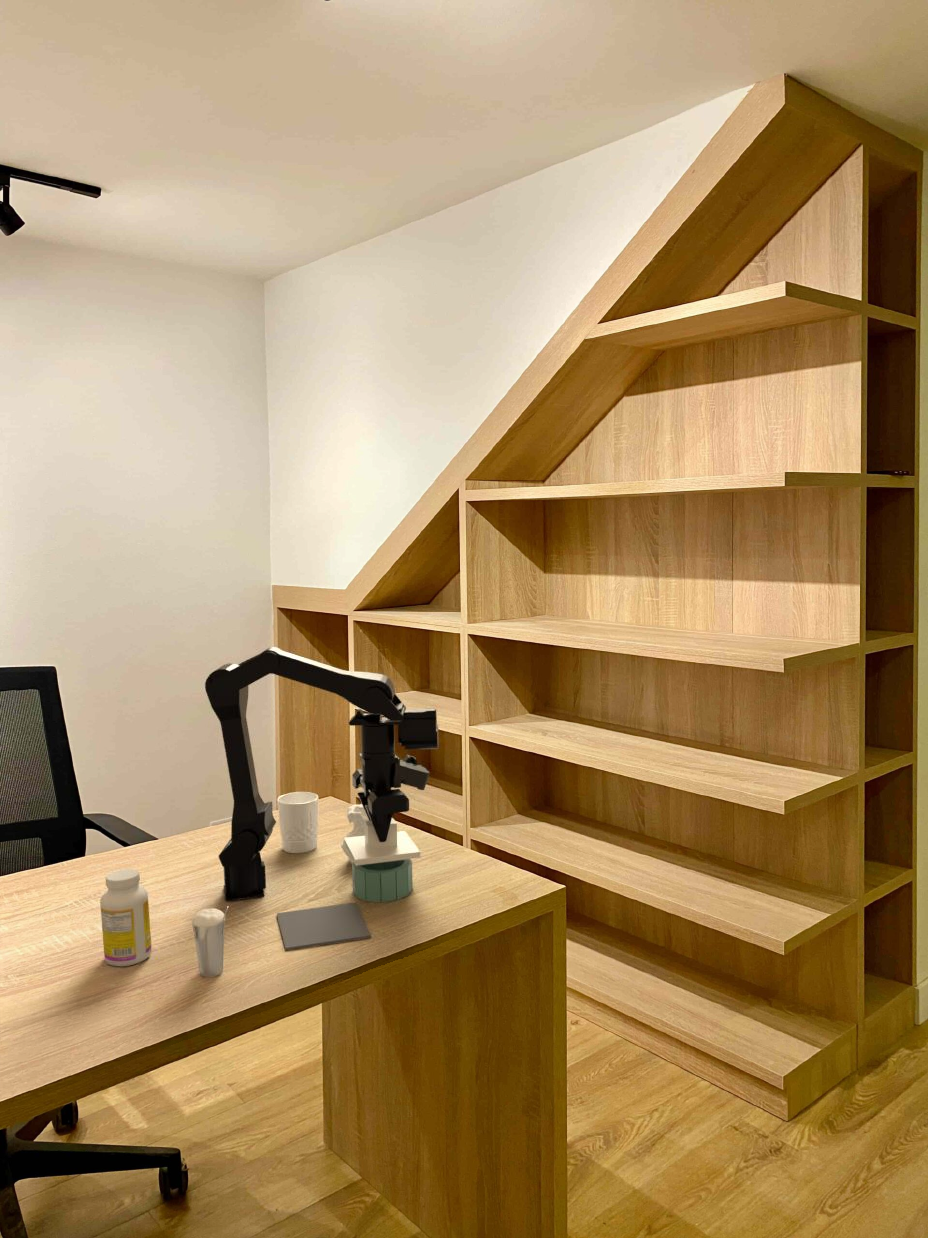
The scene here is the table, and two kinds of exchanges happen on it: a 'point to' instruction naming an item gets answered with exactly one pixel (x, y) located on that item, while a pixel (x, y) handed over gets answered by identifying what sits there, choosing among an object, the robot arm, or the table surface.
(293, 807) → the white cup
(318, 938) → the mat
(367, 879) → the bowl
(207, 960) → the milkshake
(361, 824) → the bust
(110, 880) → the supplement bottle
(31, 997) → the table surface
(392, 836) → the lid
